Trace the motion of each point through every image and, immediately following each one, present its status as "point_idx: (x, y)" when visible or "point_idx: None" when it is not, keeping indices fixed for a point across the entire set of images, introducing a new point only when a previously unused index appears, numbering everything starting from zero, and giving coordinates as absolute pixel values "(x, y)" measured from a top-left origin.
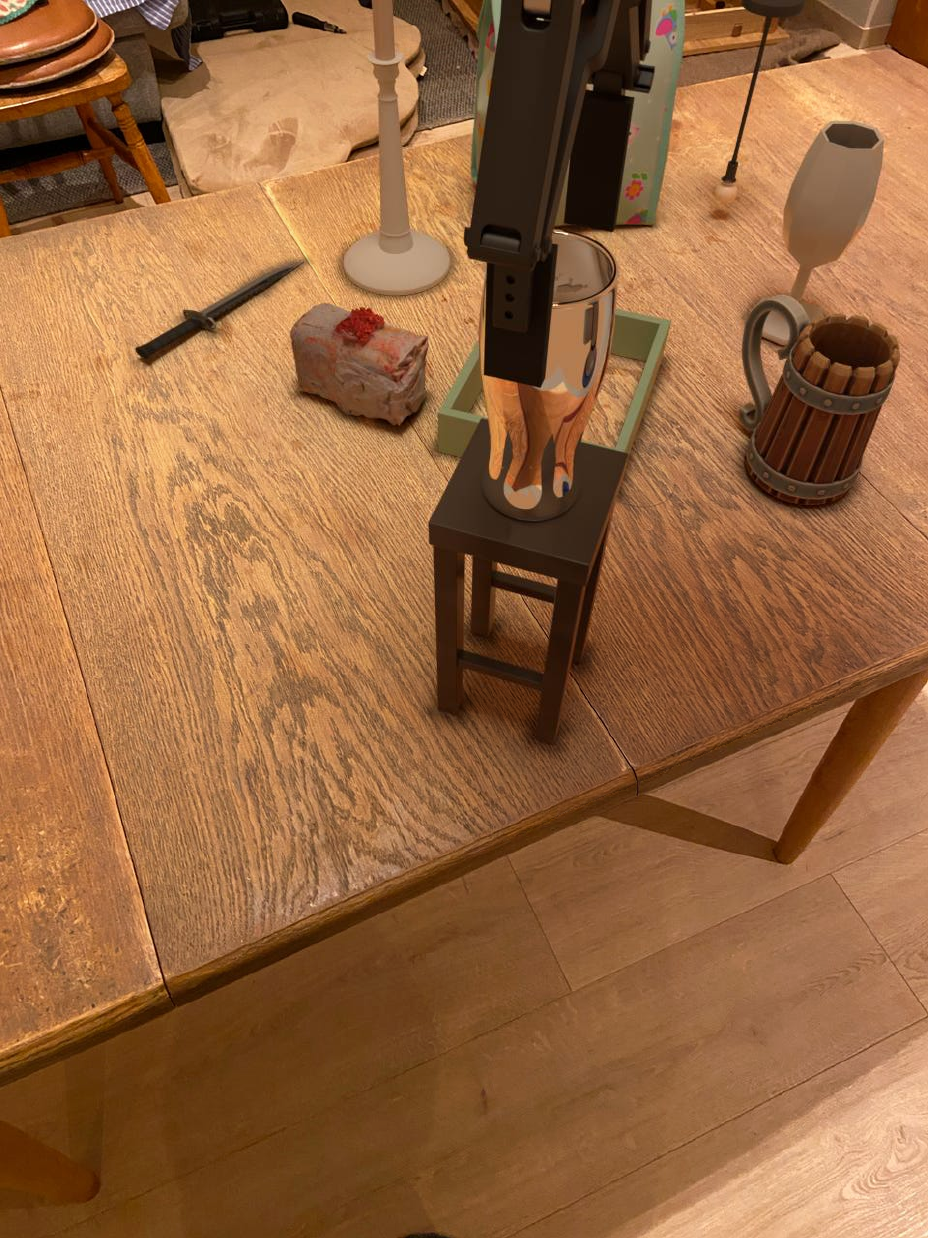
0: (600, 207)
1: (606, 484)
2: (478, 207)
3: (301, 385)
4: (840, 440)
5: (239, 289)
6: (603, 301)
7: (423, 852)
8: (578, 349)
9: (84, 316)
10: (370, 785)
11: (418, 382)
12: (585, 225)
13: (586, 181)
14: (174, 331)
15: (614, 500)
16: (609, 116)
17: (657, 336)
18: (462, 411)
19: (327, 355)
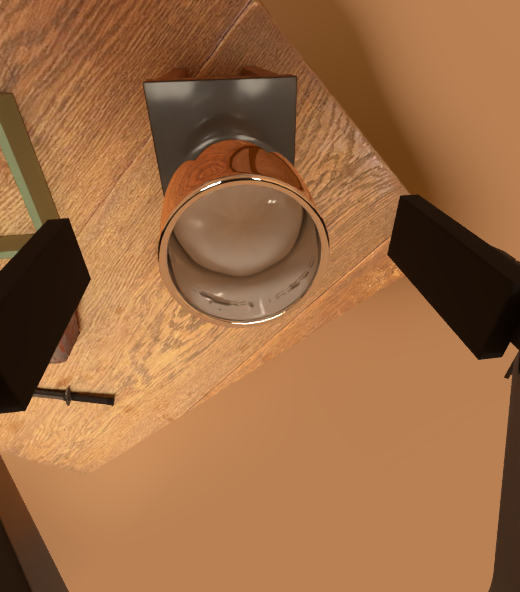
0: (65, 253)
1: (194, 92)
2: None
3: (78, 332)
4: None
5: None
6: (279, 178)
7: (344, 122)
8: (299, 177)
9: (104, 431)
10: (314, 168)
11: None
12: (81, 254)
13: (62, 293)
14: (88, 400)
15: (194, 78)
16: (8, 343)
17: None
18: (26, 240)
19: (64, 335)
